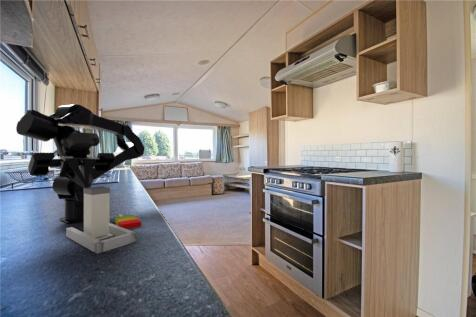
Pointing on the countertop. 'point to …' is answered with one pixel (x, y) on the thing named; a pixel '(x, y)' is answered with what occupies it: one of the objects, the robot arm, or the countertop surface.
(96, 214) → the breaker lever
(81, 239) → the frame
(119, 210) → the countertop surface
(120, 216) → the popsicle
